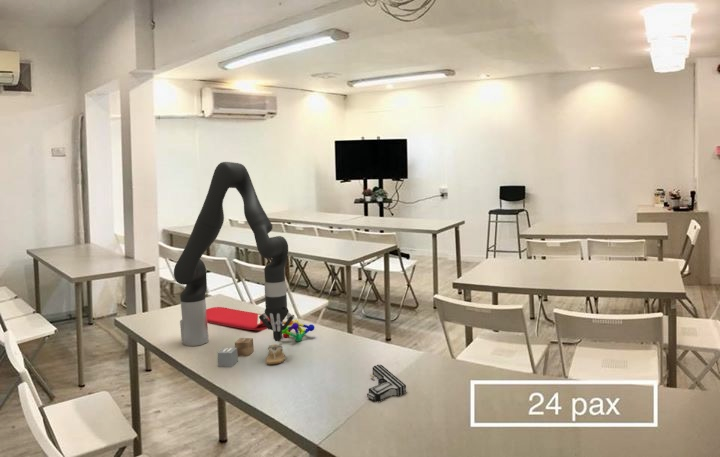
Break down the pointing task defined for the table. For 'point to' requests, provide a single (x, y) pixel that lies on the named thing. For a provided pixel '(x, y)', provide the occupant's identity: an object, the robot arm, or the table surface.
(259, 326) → the dish drying mat
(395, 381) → the handgun
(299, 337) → the decorative model
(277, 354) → the sandal
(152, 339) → the table surface
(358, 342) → the table surface
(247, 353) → the walnut block
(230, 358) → the slate block
